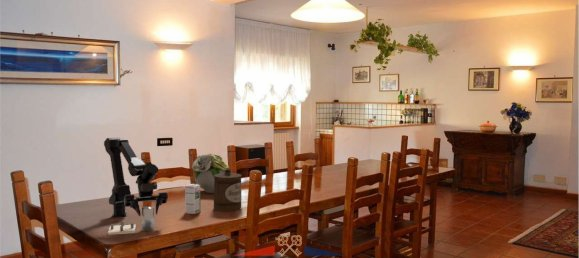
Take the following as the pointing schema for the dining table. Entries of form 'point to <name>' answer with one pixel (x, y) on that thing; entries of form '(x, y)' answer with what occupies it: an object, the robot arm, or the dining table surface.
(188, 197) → the syrup box
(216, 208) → the wooden container
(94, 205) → the dining table surface
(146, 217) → the steel canister
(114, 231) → the pin tray
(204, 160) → the flower arrangement
